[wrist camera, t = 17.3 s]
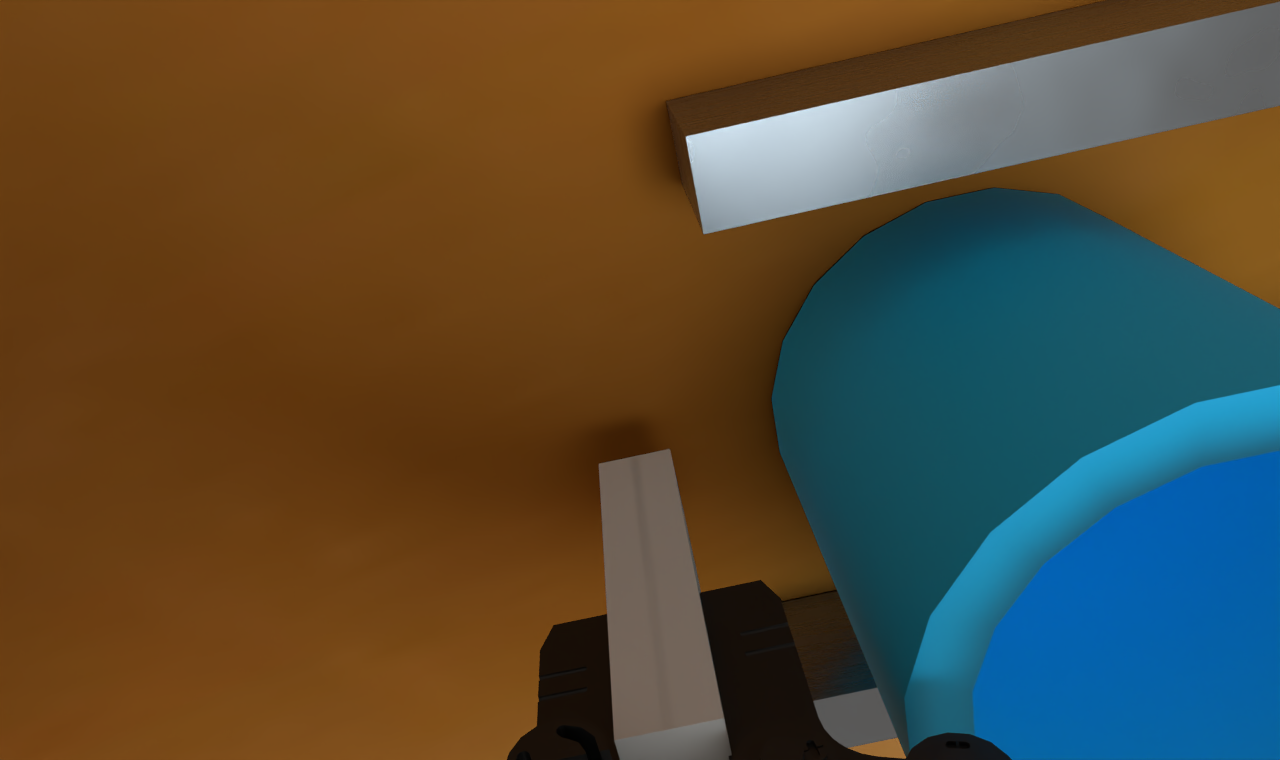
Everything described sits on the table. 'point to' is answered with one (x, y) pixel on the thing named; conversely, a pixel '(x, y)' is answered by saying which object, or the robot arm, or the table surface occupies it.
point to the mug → (1045, 481)
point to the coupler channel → (957, 164)
